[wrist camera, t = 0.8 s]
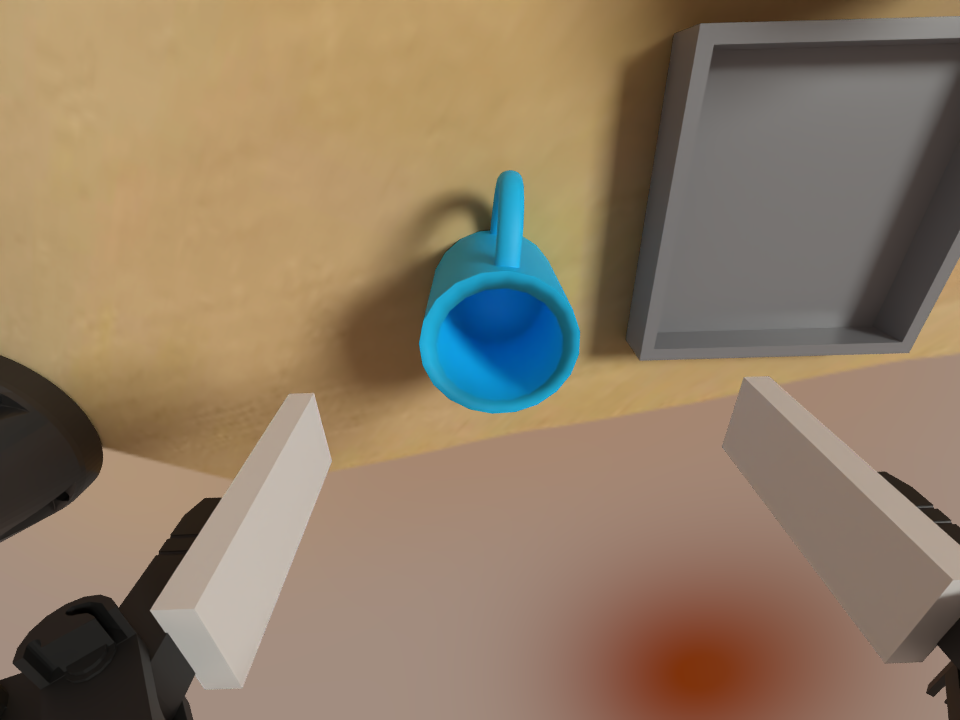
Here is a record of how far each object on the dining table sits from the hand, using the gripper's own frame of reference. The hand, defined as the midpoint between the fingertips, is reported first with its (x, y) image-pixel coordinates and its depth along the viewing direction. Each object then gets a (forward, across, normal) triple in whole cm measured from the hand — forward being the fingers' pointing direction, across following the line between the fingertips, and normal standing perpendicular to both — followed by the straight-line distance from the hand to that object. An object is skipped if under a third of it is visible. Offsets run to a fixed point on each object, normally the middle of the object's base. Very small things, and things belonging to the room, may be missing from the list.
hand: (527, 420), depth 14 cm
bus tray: (+16, +18, +3) cm, 25 cm away
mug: (+17, 0, 0) cm, 17 cm away
